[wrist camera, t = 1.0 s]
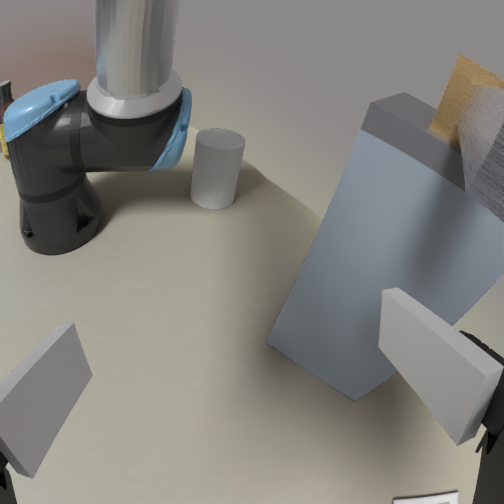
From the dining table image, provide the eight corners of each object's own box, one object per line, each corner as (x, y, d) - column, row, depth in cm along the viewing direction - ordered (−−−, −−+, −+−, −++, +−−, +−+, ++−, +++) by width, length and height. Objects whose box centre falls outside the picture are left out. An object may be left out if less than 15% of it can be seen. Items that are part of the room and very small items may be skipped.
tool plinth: (355, 401, 33) (543, 221, 12) (265, 342, 38) (370, 102, 16) (392, 319, 44) (509, 159, 23) (320, 272, 48) (404, 92, 27)
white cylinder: (235, 187, 60) (246, 132, 51) (232, 212, 54) (244, 153, 46) (194, 180, 59) (200, 125, 50) (186, 205, 53) (192, 144, 45)
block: (538, 317, 6) (645, 163, 2) (392, 206, 8) (478, 5, 3) (485, 145, 21) (508, 95, 17) (434, 113, 23) (455, 61, 19)
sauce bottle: (14, 148, 58) (4, 79, 44) (30, 148, 58) (21, 76, 45) (-1, 161, 53) (-13, 88, 39) (15, 161, 54) (3, 85, 40)
